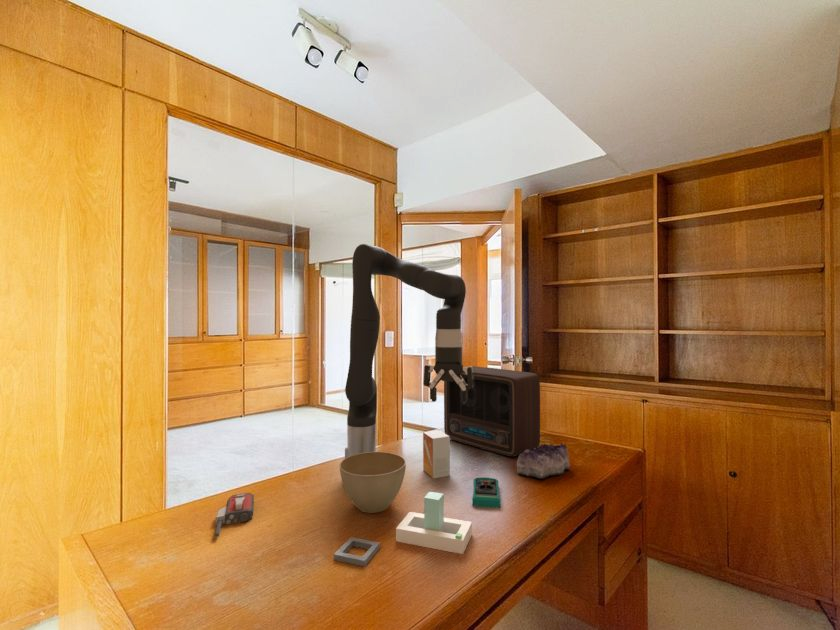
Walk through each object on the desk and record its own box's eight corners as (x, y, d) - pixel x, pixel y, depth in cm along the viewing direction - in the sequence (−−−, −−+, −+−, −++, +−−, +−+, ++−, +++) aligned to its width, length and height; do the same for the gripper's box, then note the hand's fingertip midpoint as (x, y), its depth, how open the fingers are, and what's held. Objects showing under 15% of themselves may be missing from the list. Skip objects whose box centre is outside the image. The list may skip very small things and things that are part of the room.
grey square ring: (334, 559, 91) (334, 554, 91) (351, 542, 98) (351, 537, 98) (364, 566, 88) (364, 560, 88) (379, 548, 95) (379, 542, 95)
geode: (549, 460, 152) (553, 434, 151) (576, 475, 142) (580, 446, 141) (508, 470, 141) (512, 441, 140) (535, 486, 131) (539, 455, 130)
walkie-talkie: (220, 506, 118) (211, 542, 99) (220, 490, 118) (211, 523, 99) (254, 501, 121) (251, 535, 102) (254, 485, 121) (251, 517, 102)
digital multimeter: (498, 486, 130) (498, 477, 130) (500, 509, 115) (500, 498, 115) (473, 485, 131) (473, 475, 131) (472, 508, 116) (472, 497, 116)
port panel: (396, 541, 98) (395, 525, 98) (409, 523, 106) (409, 509, 106) (462, 554, 93) (462, 537, 93) (471, 534, 101) (471, 519, 101)
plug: (424, 540, 99) (424, 497, 98) (429, 532, 102) (429, 491, 102) (439, 543, 97) (438, 499, 97) (443, 535, 101) (443, 493, 101)
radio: (441, 440, 177) (440, 368, 177) (468, 432, 189) (468, 365, 189) (513, 462, 150) (513, 378, 150) (540, 451, 162) (540, 373, 162)
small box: (422, 470, 143) (422, 431, 143) (439, 467, 145) (439, 429, 145) (432, 478, 135) (432, 438, 135) (450, 475, 138) (450, 436, 138)
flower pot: (333, 499, 121) (333, 456, 121) (393, 488, 128) (392, 448, 128) (348, 528, 104) (348, 479, 104) (416, 514, 111) (415, 468, 111)
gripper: (420, 345, 118) (420, 403, 118) (470, 346, 113) (470, 407, 113) (429, 343, 125) (429, 398, 125) (476, 344, 120) (476, 401, 120)
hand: (448, 402), depth 119 cm, fingers open, 8 cm apart
